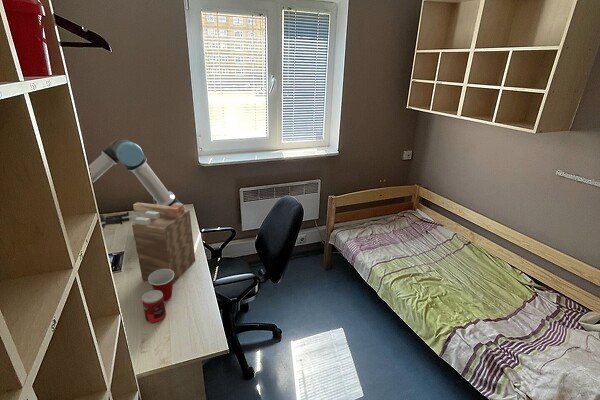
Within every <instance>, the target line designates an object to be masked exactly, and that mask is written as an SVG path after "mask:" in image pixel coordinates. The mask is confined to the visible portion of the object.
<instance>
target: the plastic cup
mask: <svg viewBox="0 0 600 400" xmlns="http://www.w3.org/2000/svg"><path fill="white" fill-rule="evenodd" d="M173 278H174V272H173V271H172V270H170V269H160V270H156V271H154V272H152V273H151V274H150V275H149V277H148V281H147V282H148V283H149V284H150V285H151V287H152V290H159V291H161V292H162V293H163V298H164V303H165V302H167V301H170V300H171V299H172V295H173V285H174V284H173Z"/></svg>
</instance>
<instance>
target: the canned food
mask: <svg viewBox="0 0 600 400" xmlns="http://www.w3.org/2000/svg"><path fill="white" fill-rule="evenodd" d="M141 302H142V308H143V312H144V318H145V321H147V322H148V324H158V323H160V322H162V321H163V320H164V319H165V318H166V315H167V312H166V305H165V302H164V298H163V293H162V292H161V291H159V290H154V289H152V290H148V291H147V292H145V293H144V294H143V295H142V296H141Z"/></svg>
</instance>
